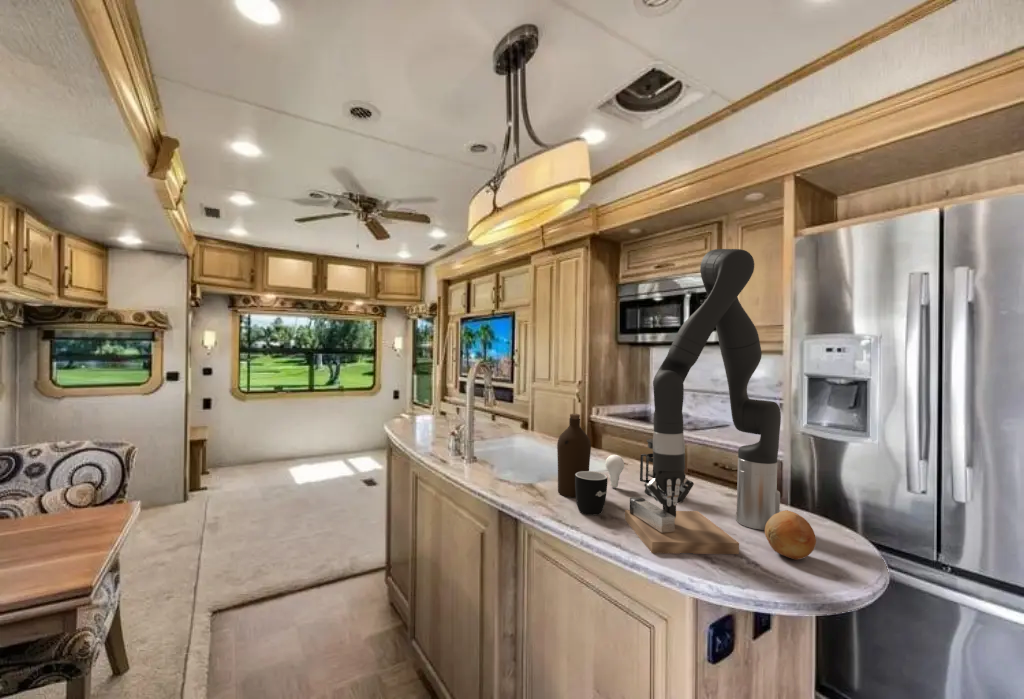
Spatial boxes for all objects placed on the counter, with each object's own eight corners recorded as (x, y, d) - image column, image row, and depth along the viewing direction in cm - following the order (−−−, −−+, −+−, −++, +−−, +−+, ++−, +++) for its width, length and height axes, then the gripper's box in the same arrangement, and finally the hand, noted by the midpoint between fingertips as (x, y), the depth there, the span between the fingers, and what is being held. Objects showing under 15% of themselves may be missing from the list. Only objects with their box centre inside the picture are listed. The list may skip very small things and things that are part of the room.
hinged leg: (626, 510, 118) (626, 497, 118) (639, 509, 119) (640, 496, 119) (660, 532, 103) (661, 517, 103) (675, 531, 104) (675, 516, 104)
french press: (681, 493, 143) (683, 422, 143) (671, 501, 135) (673, 426, 135) (645, 486, 150) (647, 418, 150) (634, 492, 142) (636, 421, 142)
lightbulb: (609, 484, 151) (610, 451, 151) (626, 487, 147) (627, 454, 147) (601, 487, 146) (602, 454, 146) (618, 492, 143) (619, 457, 143)
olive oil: (590, 499, 134) (593, 417, 134) (555, 497, 135) (558, 415, 135) (588, 488, 145) (590, 412, 145) (555, 487, 146) (558, 411, 146)
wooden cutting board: (697, 520, 120) (697, 511, 120) (738, 554, 100) (739, 542, 100) (624, 519, 119) (625, 510, 119) (651, 553, 99) (652, 542, 99)
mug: (596, 519, 118) (597, 481, 118) (568, 511, 124) (569, 475, 124) (617, 508, 127) (618, 473, 127) (590, 501, 133) (591, 467, 133)
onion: (754, 551, 101) (755, 507, 102) (782, 544, 106) (783, 502, 106) (795, 570, 93) (797, 522, 93) (825, 562, 97) (826, 517, 97)
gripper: (653, 455, 105) (654, 528, 105) (701, 451, 108) (702, 522, 108) (637, 448, 112) (637, 517, 112) (682, 445, 115) (683, 512, 115)
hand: (669, 519), depth 110 cm, fingers closed
